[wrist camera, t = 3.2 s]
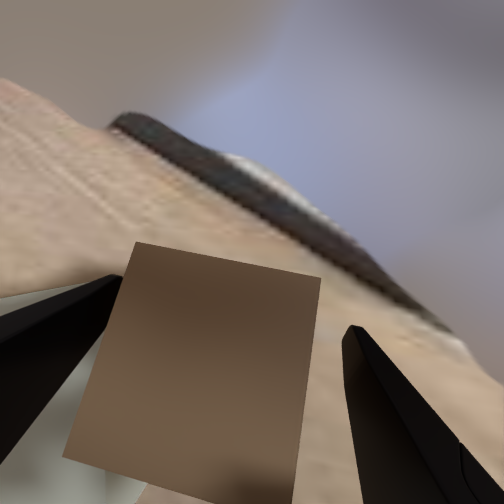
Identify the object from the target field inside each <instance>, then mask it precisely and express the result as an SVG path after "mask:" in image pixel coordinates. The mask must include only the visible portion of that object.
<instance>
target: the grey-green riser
mask: <svg viewBox="0 0 504 504" xmlns="http://www.w3.org/2000/svg"><path fill="white" fill-rule="evenodd" d="M86 283H89V282H86ZM86 283H81V284H75V285H70V286H65V287H59V288H54V289H48V290H43V291H38V292H32V293H27V294H22V295H16V296H11V297H5V298H0V316H2V315H4V314H7V313H10V312H12V311H15V310H17V309H20V308H23V307H25V306H28V305H31V304H33V303H36V302H39V301H41V300H44V299H47V298H49V297H52V296H55V295H57V294H60V293H63V292H65V291H68V290H71V289H73V288H76V287H79V286H81V285H84V284H86ZM105 330H106V329H105ZM105 330H104V331H103V333H102V334H101V335H100V337H99V338H98V339H97V341H96V342H95V343H94V345H93V346H92V347H91V348H90V350H89V351H88V352H87V354H86V355H85V356H84V358H83V359H82V360H81V361H80V363H79V364H78V365H77V367H76V368H75V369H74V370H73V372H72V373H71V374H70V376H69V377H68V378H67V380H66V381H65V382H64V383H63V385H62V386H61V387H60V389H59V390H58V391H57V393H56V394H55V395H54V396H53V398H52V399H51V400H50V402H49V403H48V404H47V405H46V407H45V408H44V409H43V411H42V412H41V413H40V415H39V416H38V417H37V418H36V420H35V421H34V422H33V424H32V425H31V426H30V427H29V429H28V430H27V431H26V433H25V434H24V435H23V437H22V438H21V439H20V440H19V442H18V443H17V444H16V446H15V447H14V448H13V450H12V451H11V452H10V453H9V455H8V456H7V457H6V459H5V460H4V461H3V462H2V464H1V465H0V504H135V503H136V501H137V499H138V498H139V496H140V495H141V493H142V491H143V490H144V488H145V487H146V485H147V483H146V482H142V481H139V480H136V479H133V478H129V477H126V476H123V475H120V474H116V473H113V472H110V471H106V470H103V469H100V468H97V467H93V466H90V465H87V464H83V463H80V462H77V461H74V460H70V459H67V458H64V457H62V454H63V452H64V449H65V446H66V443H67V440H68V437H69V434H70V431H71V428H72V425H73V423H74V420H75V417H76V414H77V411H78V408H79V405H80V402H81V399H82V396H83V394H84V391H85V388H86V385H87V382H88V379H89V376H90V373H91V370H92V367H93V365H94V362H95V359H96V356H97V353H98V350H99V347H100V344H101V341H102V338H103V336H104V333H105Z"/></svg>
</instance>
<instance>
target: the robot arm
mask: <svg viewBox="0 0 504 504" xmlns="http://www.w3.org/2000/svg"><path fill="white" fill-rule="evenodd" d="M122 280H123V277H122V276H119V275H114V274H111V275H108V276H105V277H102V278H100V279H97V280H94V281H92V282H89V283H86V284H84V285H81V286H79V287H76V288H73V289H71V290H68V291H65V292H63V293H60V294H57V295H55V296H52V297H49V298H47V299H44V300H41V301H39V302H36V303H33V304H31V305H28V306H25V307H23V308H20V309H17V310H15V311H12V312H10V313H7V314H4V315H2V316H0V465H1V464H2V462H3V461H4V460H5V459H6V457H7V456H8V455H9V453H10V452H11V451H12V450H13V448H14V447H15V446H16V444H17V443H18V442H19V440H20V439H21V438H22V437H23V435H24V434H25V433H26V431H27V430H28V429H29V427H30V426H31V425H32V424H33V422H34V421H35V420H36V418H37V417H38V416H39V415H40V413H41V412H42V411H43V409H44V408H45V407H46V405H47V404H48V403H49V402H50V400H51V399H52V398H53V396H54V395H55V394H56V393H57V391H58V390H59V389H60V387H61V386H62V385H63V383H64V382H65V381H66V380H67V378H68V377H69V376H70V374H71V373H72V372H73V370H74V369H75V368H76V367H77V365H78V364H79V363H80V361H81V360H82V359H83V358H84V356H85V355H86V354H87V352H88V351H89V350H90V348H91V347H92V346H93V345H94V343H95V342H96V341H97V339H98V338H99V337H100V335H101V334H102V333H103V331H104V330H105V329H106V327H107V324H108V321H109V318H110V315H111V312H112V309H113V307H114V304H115V301H116V298H117V295H118V292H119V289H120V286H121V283H122ZM342 359H343V377H344V389H345V396H346V402H347V408H348V414H349V420H350V426H351V432H352V438H353V444H354V450H355V456H356V462H357V468H358V474H359V480H360V486H361V492H362V498H363V504H504V491H503V490H502V488H501V487H500V486H499V485H498V484H497V483H496V482H495V481H494V479H493V478H492V477H491V476H490V475H489V474H488V473H487V471H486V470H485V469H484V468H483V467H482V466H481V465H480V463H479V462H478V461H477V460H476V459H475V458H474V456H473V455H472V454H471V453H470V452H469V451H468V449H467V448H466V447H465V446H464V445H463V444H462V443H460V442H459V439H458V438H457V437H456V436H455V434H454V433H453V432H452V431H451V430H450V429H449V427H448V426H447V425H446V424H445V423H444V422H443V420H442V419H441V418H440V417H439V416H438V415H437V413H436V412H435V411H434V410H433V409H432V407H431V406H430V405H429V404H428V403H427V402H426V400H425V399H424V398H423V397H422V396H421V395H420V393H419V392H418V391H417V390H416V389H415V388H414V386H413V385H412V384H411V383H410V382H409V381H408V379H407V378H406V377H405V376H404V375H403V374H402V372H401V371H400V370H399V369H398V368H397V367H396V365H395V364H394V363H393V362H392V361H391V360H390V358H389V357H388V356H387V355H386V354H385V353H384V351H383V350H382V349H381V348H380V347H379V345H378V344H377V343H376V342H375V341H374V340H373V338H372V337H371V336H370V335H369V334H368V333H367V331H366V330H365V329H364V328H363V327H360V326H355V325H350V326H349V328H348V329H347V331H346V333H345V335H344V337H343V339H342Z"/></svg>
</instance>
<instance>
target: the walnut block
mask: <svg viewBox="0 0 504 504" xmlns="http://www.w3.org/2000/svg"><path fill="white" fill-rule="evenodd" d="M320 284H321V278H319V277H313V276H308V275H303V274H298V273H293V272H288V271H283V270H278V269H273V268H268V267H263V266H257V265H252V264H247V263H242V262H237V261H232V260H227V259H222V258H217V257H212V256H207V255H201V254H196V253H191V252H186V251H181V250H176V249H171V248H166V247H161V246H156V245H151V244H145V243H140V242H136V243H135V246H134V249H133V252H132V254H131V257H130V260H129V263H128V266H127V269H126V272H125V275H124V278H123V280H122V283H121V286H120V289H119V292H118V295H117V298H116V301H115V304H114V307H113V309H112V312H111V315H110V318H109V321H108V324H107V327H106V330H105V333H104V336H103V338H102V341H101V344H100V347H99V350H98V353H97V356H96V359H95V362H94V365H93V367H92V370H91V373H90V376H89V379H88V382H87V385H86V388H85V391H84V394H83V396H82V399H81V402H80V405H79V408H78V411H77V414H76V417H75V420H74V423H73V425H72V428H71V431H70V434H69V437H68V440H67V443H66V446H65V449H64V452H63V454H62V457H64V458H67V459H70V460H74V461H77V462H80V463H83V464H87V465H90V466H93V467H97V468H100V469H103V470H106V471H110V472H113V473H116V474H120V475H123V476H126V477H129V478H133V479H136V480H139V481H142V482H146V483H149V484H152V485H156V486H159V487H162V488H165V489H169V490H172V491H175V492H179V493H182V494H185V495H188V496H192V497H195V498H198V499H202V500H205V501H208V502H211V503H215V504H292V496H293V489H294V481H295V473H296V466H297V458H298V451H299V443H300V435H301V428H302V420H303V413H304V405H305V398H306V390H307V382H308V375H309V367H310V360H311V352H312V344H313V337H314V329H315V322H316V314H317V307H318V299H319V291H320Z"/></svg>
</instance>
